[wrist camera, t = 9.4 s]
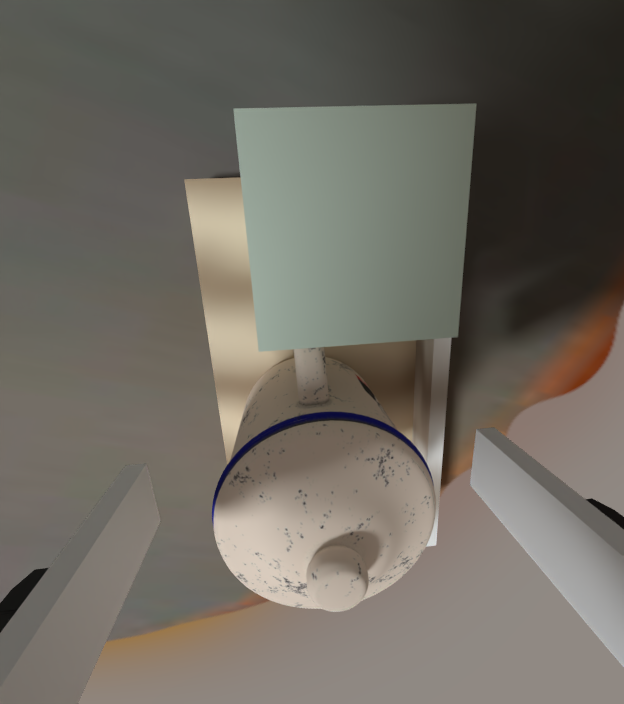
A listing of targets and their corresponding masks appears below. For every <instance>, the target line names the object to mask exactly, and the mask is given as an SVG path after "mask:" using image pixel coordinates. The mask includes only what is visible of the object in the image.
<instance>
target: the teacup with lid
mask: <svg viewBox="0 0 624 704" xmlns="http://www.w3.org/2000/svg"><path fill="white" fill-rule="evenodd" d="M435 513H436V496H435V490H434V484H433V479H432V476H431V472H430V470H429V467H428V465H427V463H426V461H425V459H424V458H423V456H422V454H421V453H420V452H419V450H418V449H417V448H416V446H415V445H414V444H413V443H412V442H411V441H410V440H409V439H408V438H407V437H405V436H404V435H403V434H402V433H400V432H399V431H398V430H397V428H396V427H395V425H394V424H393V422H392V421H391V419H390V418H389V416H388V415H387V413H386V412H385V410H384V409H383V407H382V406H381V404H380V403H379V401H378V400H377V398H376V397H375V395H374V394H373V393H372V391H371V390H370V388H369V387H368V385H367V384H366V382H365V381H364V379H363V378H362V377H361V376H360V375H359V374H358V373H357V372H356V371H355V370H353V369H352V368H351V367H349V366H348V365H346V364H344V363H342V362H340V361H338V360H335V359H332V358H328V357H325V351H324V347H317V348H303V349H294V358H292V359H289V360H286V361H284V362H282V363H280V364H278V365H276V366H274V367H273V368H271V369H270V370H268V371H267V372H266V373H265V374H264V375H263V376H262V377H261V378H260V379H259V380H258V381H257V382H256V384H255V385H254V386H253V388H252V390H251V391H250V394H249V396H248V398H247V401H246V404H245V408H244V411H243V415H242V419H241V422H240V426H239V430H238V434H237V437H236V441H235V445H234V448H233V452H232V456H231V459H230V462H229V463H228V465H227V467H226V468H225V470H224V471H223V473H222V475H221V478H220V480H219V482H218V485H217V488H216V491H215V495H214V499H213V507H212V521H213V528H214V534H215V539H216V542H217V546H218V548H219V551H220V553H221V555H222V557H223V559H224V561H225V563H226V565H227V566H228V568H229V569H230V570H231V572H232V573H233V574H234V575H235V576H236V577H237V578H238V580H240V581H241V582H242V583H243V584H244V585H245V586H246V587H248V588H249V589H251V590H252V591H253V592H255V593H257V594H259V595H260V596H262V597H264V598H267V599H269V600H271V601H274V602H277V603H280V604H284V605H288V606H293V607H299V608H313V609H314V608H316V609H318V608H322V609H324V610H327V611H331V612H341V611H346V610H348V609H351V608H353V607H354V606H356V605H357V604H358V603H360V602H361V600H364V599H366V598H369V597H371V596H373V595H375V594H377V593H379V592H381V591H383V590H384V589H386V588H388V587H389V586H390V585H392V584H393V583H395V582H396V581H397V580H399V579H400V578H401V577H402V576H403V575H404V574H405V573H406V572H407V571H408V570H409V569H410V568H411V567H412V566H413V565H414V564H415V563H416V561H417V560H418V559H419V557H420V556H421V554H422V552H423V551H424V549H425V547H426V545H427V543H428V541H429V539H430V536H431V533H432V530H433V526H434V521H435Z"/></svg>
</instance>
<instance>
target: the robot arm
mask: <svg viewBox="0 0 624 704" xmlns="http://www.w3.org/2000/svg"><path fill="white" fill-rule="evenodd" d="M470 485H471V487H472V488H473V489H474V490H475V491H476V493H477V494H478V495H479V496H480V497H481V499H483V501H484V502H485V503H486V504H487V505H488V507H489V508H490V509H491V510H492V512H493V513H494V514H495V515H496V516H497V518H498V519H499V520H500V521H501V522H502V524H504V526H505V527H506V528H507V529H508V531H509V532H510V533H511V534H512V535H513V537H514V538H515V539H516V540H517V541H518V542H519V544H520V545H521V546H522V547H523V548H524V550H525V551H526V552H527V553H528V554H529V556H530V557H531V558H532V559H533V560H534V562H535V563H536V564H537V565H538V566H539V567H540V569H541V570H542V571H543V572H544V573H545V575H546V576H547V577H548V578H549V579H550V580H551V582H552V583H553V584H554V585H555V586H556V588H557V589H558V590H559V591H560V592H561V593H562V595H563V596H564V597H565V598H566V600H567V601H568V602H569V603H570V604H571V605H572V607H573V608H574V609H575V610H576V611H577V612H578V614H579V615H580V616H581V617H582V619H583V620H584V621H585V622H586V623H587V624H588V626H589V627H590V628H591V629H592V630H593V632H594V633H595V634H596V635H597V636H598V638H599V639H600V640H601V641H602V642H603V643H604V645H605V646H606V647H607V648H608V649H609V651H610V652H611V653H612V654H613V655H614V656H615V658H616V659H617V660H618V661H619V662H620V664H622V666H623V667H624V517H623V516H622V515H620V514H619V513H618V512H616V511H615V510H613V509H611V508H609V507H607V506H605V505H604V504H601V503H600V502H597V501H596V500H593V499H584V498H583V497H582V496H580V495H579V494H578V493H577V492H575V491H574V490H573V489H572V488H570V487H569V486H568V485H566V484H565V483H564V482H563V481H561V480H560V479H559V478H558V477H556V476H555V475H554V474H552V473H551V472H550V471H549V470H547V469H546V468H545V467H544V466H542V465H541V464H540V463H538V462H537V461H536V460H535V459H533V458H532V457H531V456H529V455H528V454H527V453H526V452H525V451H523V450H522V449H521V448H519V447H518V446H517V445H516V444H514V443H513V442H512V441H511V440H509V439H508V438H507V437H505V436H504V435H503V434H502V433H500V432H499V431H498V430H497V429H495V428H484V429H476V437H475V446H474V454H473V463H472V472H471V480H470ZM160 522H161V521H160V516H159V512H158V508H157V504H156V500H155V496H154V492H153V488H152V484H151V479H150V475H149V471H148V467H147V463H145V464H135V465H125V467H124V468H123V469H122V471H121V472H120V473H119V475H118V476H117V478H116V479H115V480H114V482H113V483H112V484H111V486H110V487H109V488H108V490H107V491H106V492H105V494H104V495H103V496H102V498H101V499H100V500H99V502H98V503H97V504H96V506H95V507H94V508H93V510H92V511H91V512H90V514H89V515H88V516H87V518H86V519H85V520H84V522H83V523H82V524H81V526H80V527H79V528H78V530H77V531H76V532H75V534H74V535H73V536H72V538H71V539H70V540H69V542H68V543H67V544H66V546H65V547H64V548H63V550H62V551H61V552H60V554H59V555H58V556H57V558H56V559H55V560H54V562H53V563H52V564H51V566H50V567H49V568H45V569H37V570H34V571H33V572H32V573H30V574H29V575H28V576H27V577H26V578H25V579H23V580H22V581H21V582H20V583H19V584H18V585H16V586H15V587H14V588H13V589H12V590H11V591H10V592H9V593H8V595H7V596H6V597H5V598H4V600H3V601H2V602H1V603H0V704H78V702H79V700H80V698H81V696H82V693H83V691H84V689H85V687H86V684H87V682H88V680H89V678H90V676H91V673H92V671H93V669H94V667H95V665H96V663H97V660H98V658H99V656H100V654H101V651H102V649H103V647H104V645H105V643H106V641H107V638H108V636H109V634H110V632H111V630H112V627H113V625H114V623H115V621H116V619H117V616H118V614H119V612H120V610H121V608H122V605H123V603H124V601H125V599H126V597H127V594H128V592H129V590H130V588H131V586H132V583H133V581H134V579H135V577H136V574H137V572H138V570H139V568H140V566H141V563H142V561H143V559H144V557H145V555H146V552H147V550H148V548H149V546H150V544H151V541H152V539H153V537H154V535H155V533H156V530H157V528H158V526H159V524H160Z"/></svg>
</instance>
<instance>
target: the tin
mask: <svg viewBox="0 0 624 704" xmlns="http://www.w3.org/2000/svg"><path fill="white" fill-rule="evenodd" d="M475 117H476V104H430V105H383V106H336V107H289V108H242V109H234V119H235V128H236V138H237V148H238V157H239V167H240V176H241V186H242V196H243V205H244V215H245V224H246V234H247V243H248V253H249V263H250V272H251V282H252V291H253V301H254V311H255V320H256V330H257V339H258V349H259V352H263V351H276V350H290V349H303V348H317V347H331V346H344V345H358V344H372V343H385V342H399V341H412V340H426V339H440V338H453V337H458V330H459V317H460V305H461V292H462V280H463V267H464V255H465V242H466V229H467V217H468V204H469V192H470V179H471V167H472V154H473V142H474V129H475Z"/></svg>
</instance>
